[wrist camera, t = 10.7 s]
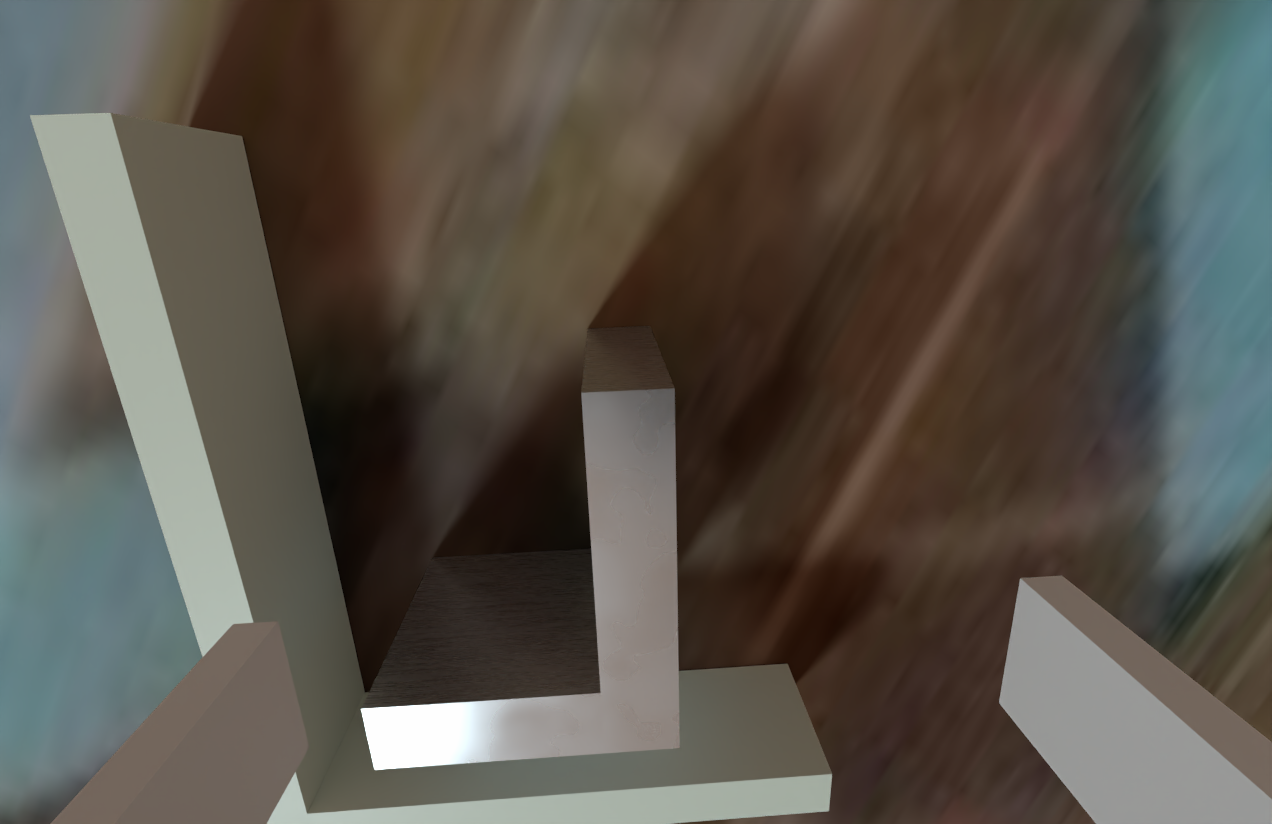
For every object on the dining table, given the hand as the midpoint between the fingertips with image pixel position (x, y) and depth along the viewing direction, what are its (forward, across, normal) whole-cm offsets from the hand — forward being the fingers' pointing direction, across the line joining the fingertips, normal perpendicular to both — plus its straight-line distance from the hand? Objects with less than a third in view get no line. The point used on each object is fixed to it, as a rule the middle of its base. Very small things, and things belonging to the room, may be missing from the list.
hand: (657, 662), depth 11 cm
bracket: (+11, +3, +1) cm, 11 cm away
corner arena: (+11, +3, +1) cm, 11 cm away
